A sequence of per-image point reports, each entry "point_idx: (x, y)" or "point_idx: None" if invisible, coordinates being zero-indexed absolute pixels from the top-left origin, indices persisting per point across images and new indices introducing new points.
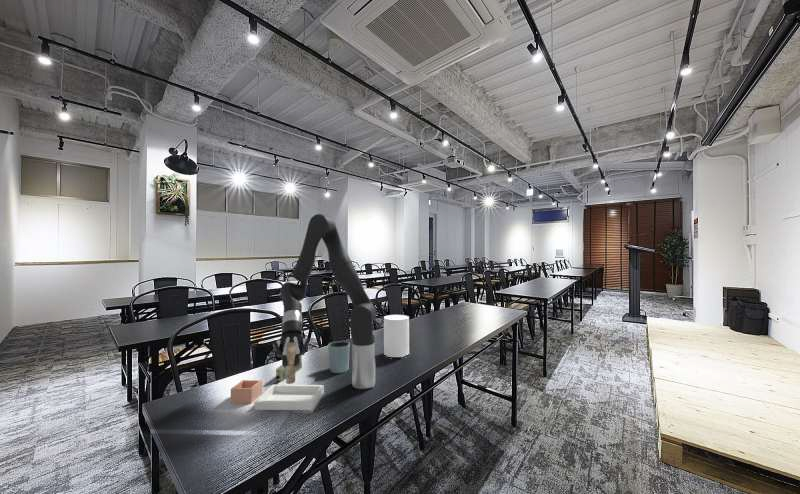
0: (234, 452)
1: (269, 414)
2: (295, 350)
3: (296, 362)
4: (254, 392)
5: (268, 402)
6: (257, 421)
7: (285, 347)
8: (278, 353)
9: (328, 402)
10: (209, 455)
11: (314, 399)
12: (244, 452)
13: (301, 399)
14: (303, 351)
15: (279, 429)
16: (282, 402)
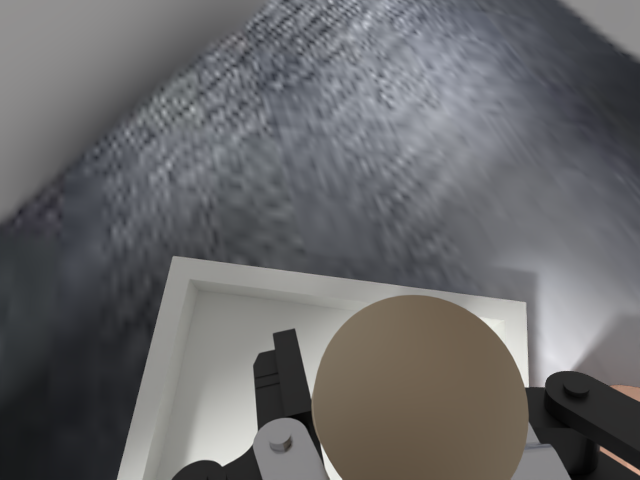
0: (429, 48)
1: (410, 286)
2: (312, 397)
3: (281, 337)
4: None
5: (438, 291)
6: (441, 228)
7: (528, 457)
8: (574, 378)
9: (96, 392)
10: (505, 44)
11: (162, 302)
12: (394, 44)
13: None
14: (187, 470)
15: (315, 157)
16: (352, 279)
